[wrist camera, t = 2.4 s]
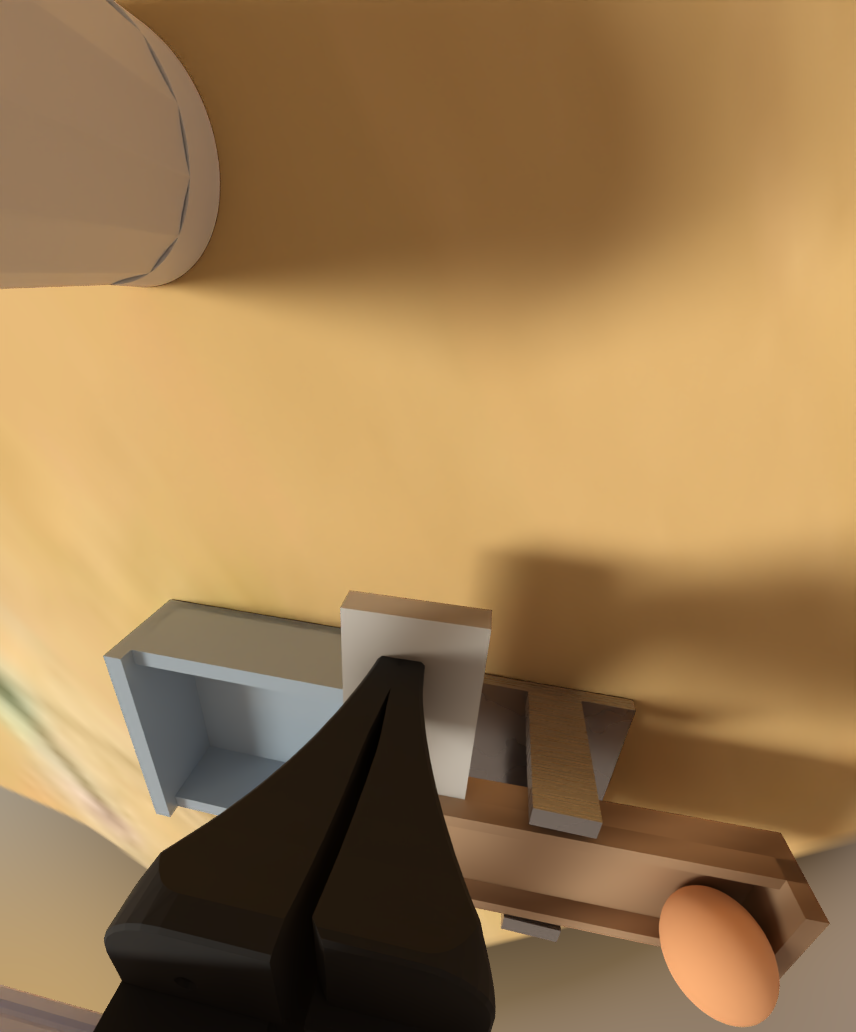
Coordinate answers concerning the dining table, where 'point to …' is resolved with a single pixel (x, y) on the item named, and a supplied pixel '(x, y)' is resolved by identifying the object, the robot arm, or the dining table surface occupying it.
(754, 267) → the dining table surface
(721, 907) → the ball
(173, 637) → the tray
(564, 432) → the dining table surface
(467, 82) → the dining table surface
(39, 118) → the cup
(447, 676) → the seesaw
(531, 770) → the stand
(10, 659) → the dining table surface
